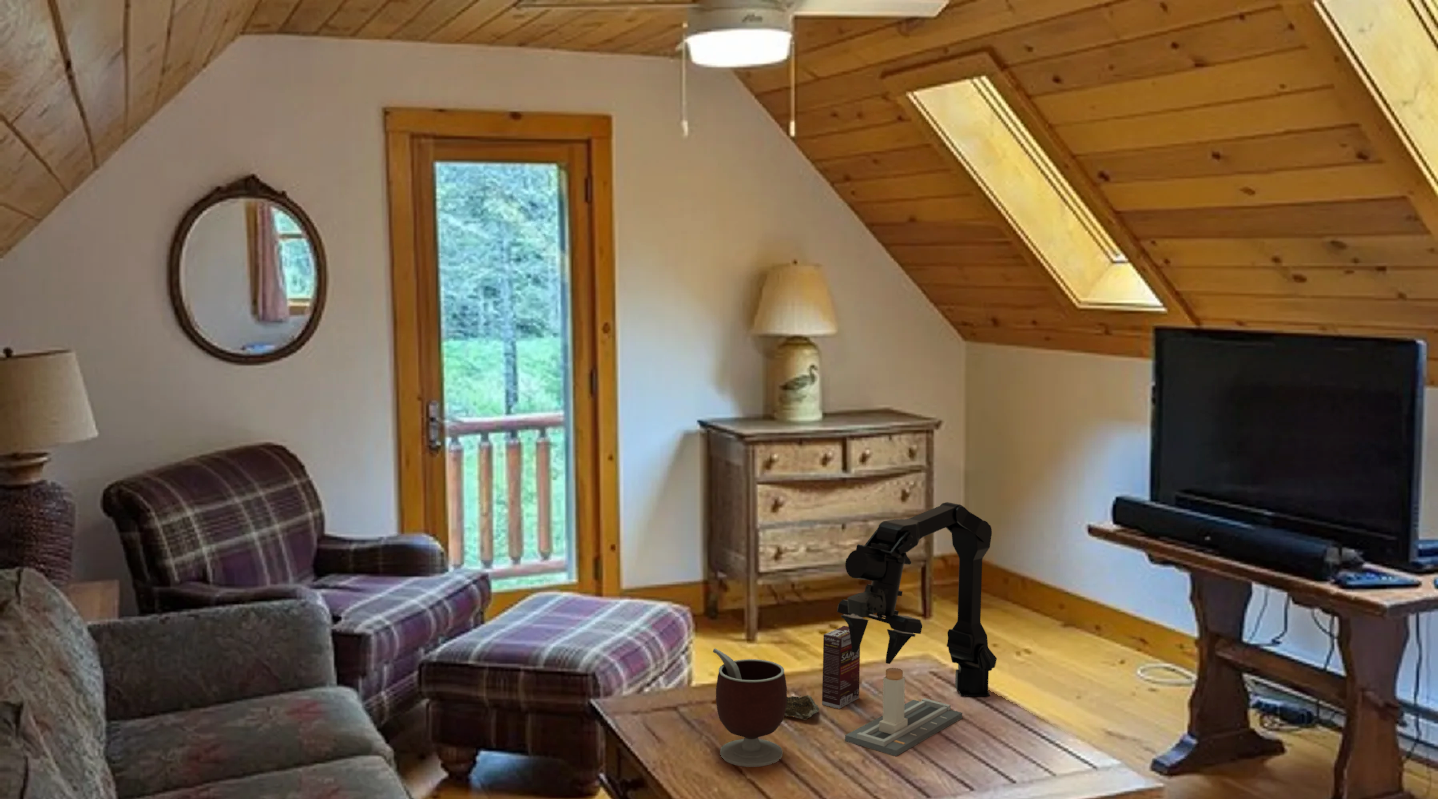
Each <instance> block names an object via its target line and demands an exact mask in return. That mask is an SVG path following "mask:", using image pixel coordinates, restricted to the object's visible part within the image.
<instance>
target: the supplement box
mask: <svg viewBox="0 0 1438 799" xmlns="http://www.w3.org/2000/svg"><path fill="white" fill-rule="evenodd" d="M822 642H823V644H822V646H823V647H822V651H823V654H822V685H821V687H822V688H821V690H822V691H821V692H822V693H821V696H822V697H821V704H822V705H823V706H826V707H829V706H830V707H829V708H833V709H837V708H838V709H837V710H840V709H841V708H843V707H845V706H846V705H849V704H850V703H853V702H854V701H856V700H859V699H860V672H861V671H860V669H861V668H860V667H861V665H860V664H861V663H860V661H861V659H860V658H861V646H860V647H859V649H858V651H857V653H854V652H852V646H851V638H850V631H849V627H848V625H842V626H841V627H839V628H836V629H834V630H831V631H830V632H827V633H824V634H823V641H822Z"/></svg>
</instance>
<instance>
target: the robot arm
mask: <svg viewBox="0 0 1438 799" xmlns="http://www.w3.org/2000/svg"><path fill="white" fill-rule="evenodd" d="M943 529H947V531H949V532H950V533H951V542H952V543H951V544H952V547H953V548H954V550H955V552H956V554H957V556H958V588H957V589H958V590H957V592H958V593H957V622H956V623H955V624H954V625H953V627H952V628H950V629H948V631H947V643H946V647H947V649H948V653H949V654H950V659H951V662H952V663H954V664H957V669H955V673H954V674H955V682H954V683H955V685H954V686H955V689H956V691H958V693H959V696H960V697H990V696H991V693H990V692H989V674H990V673H989V672H991V671H992V670H993V669H994V668H995V667H996V665H997V657H996V655H995V654H994V653H993V651H991V649H990V648H989V642H988V635H987V633H986V631H985V628H984V627H983V625H982V622H981V615H982V614H981V613H982V612H981V610H982V584H983V583H982V582H983V580H982V578H983V572H982V571H983V559H984V556H985V555H986V554H987V553H988V551H989V549H990V547H991V542H992V541H991V540H992V536H993V535H992V534H993V532H992V526H991V525H990V523H988V521H987V520H983V519H981V518H980V517H979V516H977V515H975V514H974V513H973V512H970V511H969V510H968V509H967V508H966V507H965V506H963V505H961V504H958V503H955V502H954V503H953V502H948V501H946V502H942V503H941V504H939V506H935V507H934V508H931V509H928V510H926V511H924V512H921V513H918V514H917V515H913V517H909V518H903V519H902V518H901V519H899V518H898V519H897V518H896V519H889V520H888V519H887V520H883V521H882V522H880V523H879V525H878V527H877V529H875V531H874V532H873V534H871V536H870V538H868V540H867V542H866V543H865V544H856V547H855V550H852V551H851V552H850V553H849V554H848V556H847V557H846V559H845V563H844V565H845V566H844V567H845V570H846V573H847V574H848V576H850V578H853V579H859V580H865V581H871V584H870V583H869V584H868V583H867V584H866V586H865V589H864V591H863V592H859V593H856V594H853V595H849V596H848V597H847V599H842V600H841V601H840V602H839V603H838V605H837V610H836V612H837V613H839V614H841V615H840V617H841V619H843V620H844V621H845V622H846V624H847V626H848V627H849V631H850V638H851V646H852V652H854V653H857V651H858V649H859V647H860V648H861V643H862V641H863V638H864V635H865V632H866V629H867V625H868V623H869V619H872V620H875V621H879V622H881V623H885V624H888V625H889V627H890V629H889V628H888V629H886V631H887V635H888V637H889V638H888V645H887V649H886V654H885V664H887V665H888V664H889V665H890V664H891V663H892V662H893V661H894V659H895V658H896V657H897V655H898V654H899V652H900V651H901V650H902V648H903V647H904V646H905V645H906V644H907V642H909V640H910V639H911V638H912V637H913V638H915V637H916V635H917V634H918V635H921V634H922V631H923V630H922V629H923V624H922V621H921V619H919V618H915V617H912V616H909V615H902V614H900V615H899V612H900V611H898V610H896V606H897V601H898V597H902V596H903V590H900V587H901V586H900V585H901V580H902V575H903V570H904V566H905V565H911V564H912V561H911V559H910V558H909V556H908V554H907V553H908V552H910V551H911V550H913V549H914V548H915V547H917V546H918V545H919V542H920V540H922V538H924V537H927V536H930V535H931V534H934V533H936V532H938V531H941V530H943ZM866 618H868V619H866Z"/></svg>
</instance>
